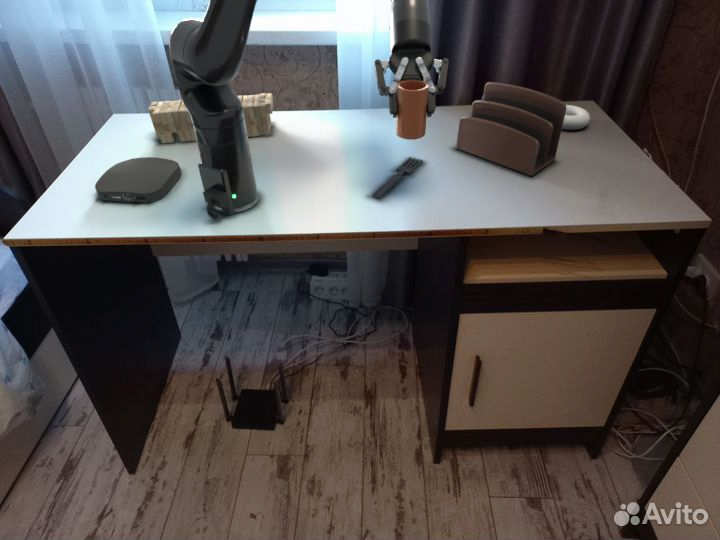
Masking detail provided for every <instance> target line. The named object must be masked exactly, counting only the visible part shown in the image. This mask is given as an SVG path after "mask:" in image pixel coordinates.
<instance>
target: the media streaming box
mask: <svg viewBox="0 0 720 540" xmlns="http://www.w3.org/2000/svg"><path fill="white" fill-rule="evenodd" d="M180 177H182V169H181V166H180V163H179V162H178V161H176V160H173V159H171V158H170V159H169V158H164V157H151V156H150V157H149V156H147V157H135V158H129V159H125V160H123V161H119V162H118V163H116V164H113V165H112V166H111V167H109V168H108V169H106V171H105V172H103V174H102V175H101V176H100V177H99V179H98V180H97V181H96V182H95V185H94V188H95V191H96V194H97V196H98V198H99V199H101V200H102V201H109V202H110V201H111V202H125V203H149V202H155V201H157V200H160V199H162V198H163V197H165V196H166V195H167V193H168V192H169V191H170V190H171V189H172V188H173V187H174V185H175V184H176V183H177V182H178V180H179V179H180Z"/></svg>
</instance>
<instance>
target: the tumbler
mask: <svg viewBox="0 0 720 540" xmlns="http://www.w3.org/2000/svg"><path fill="white" fill-rule="evenodd" d="M428 88H429V85H428V84H427V83H426V82H424V81H420V80H405V81H402V82H400V83H398V84H397V93H396V94H397V118H395V119H396V120H395V135H396V136H397V137H399V138H400V139H404V140H409V141H410V140H419V139H422V138H424V137H425V135H426V130H427V118H428V117H427V102H428Z"/></svg>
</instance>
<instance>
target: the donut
mask: <svg viewBox="0 0 720 540" xmlns="http://www.w3.org/2000/svg"><path fill="white" fill-rule="evenodd" d="M590 121H591V116H590V113H589V112H588V111H587V110H586V109H584V108H582V107H580V106H577V105H573V104H571V105H570V104H566V113H565V117H564V121H563V126H562V130H566V131H575V130H581V129H583V128H585V127H587V125H588V124H589V122H590Z"/></svg>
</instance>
